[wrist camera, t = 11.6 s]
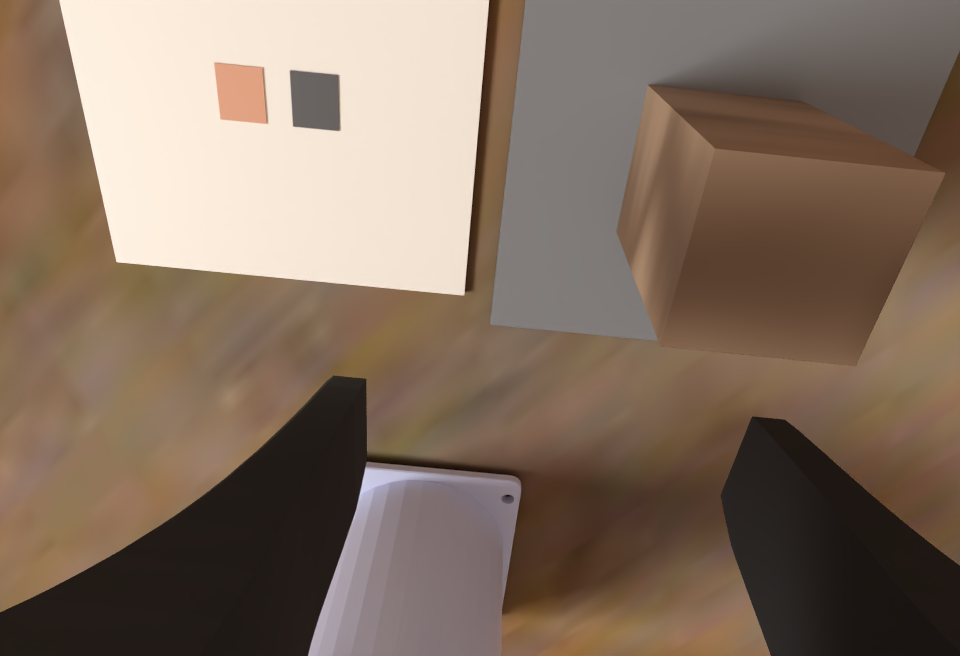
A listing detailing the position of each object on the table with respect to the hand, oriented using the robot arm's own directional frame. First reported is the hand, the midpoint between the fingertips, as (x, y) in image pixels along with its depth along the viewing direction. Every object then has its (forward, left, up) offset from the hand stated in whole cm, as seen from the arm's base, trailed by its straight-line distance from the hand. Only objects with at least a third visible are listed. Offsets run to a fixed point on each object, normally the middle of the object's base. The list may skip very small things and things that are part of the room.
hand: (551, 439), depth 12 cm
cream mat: (+4, +8, -10) cm, 14 cm away
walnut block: (+3, -5, -10) cm, 12 cm away
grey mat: (+3, -5, -10) cm, 12 cm away
